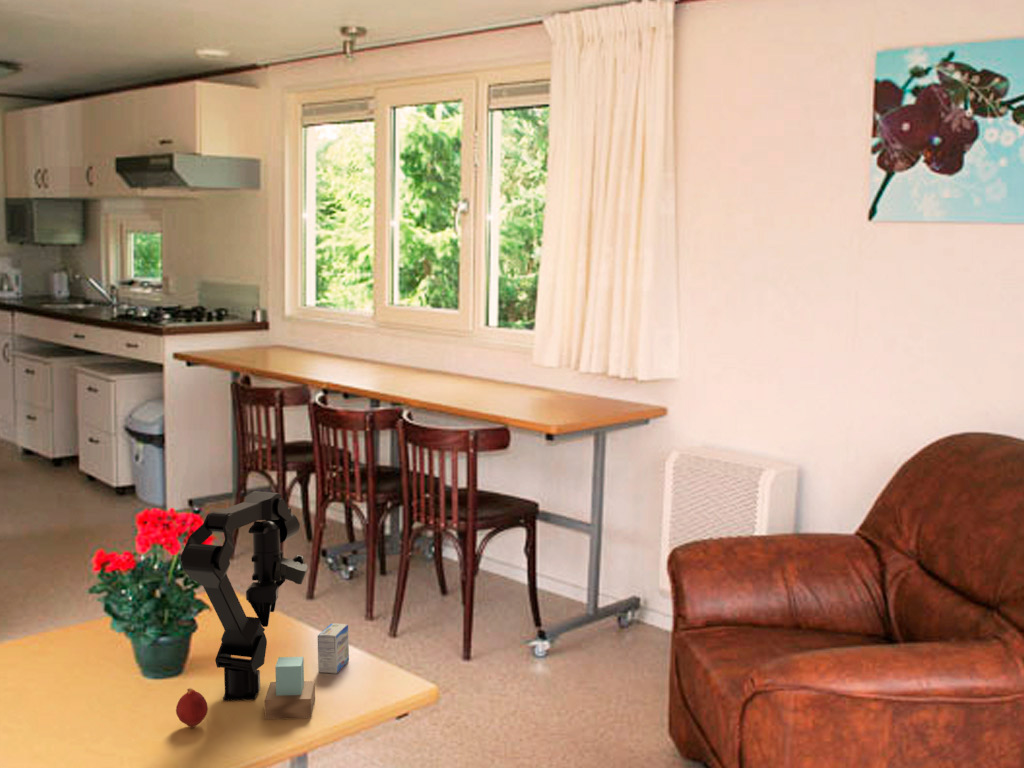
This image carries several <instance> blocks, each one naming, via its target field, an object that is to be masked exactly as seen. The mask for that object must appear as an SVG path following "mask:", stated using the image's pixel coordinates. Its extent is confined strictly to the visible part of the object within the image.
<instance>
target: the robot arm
mask: <svg viewBox="0 0 1024 768" xmlns="http://www.w3.org/2000/svg"><path fill="white" fill-rule="evenodd" d="M252 523H253V524H252ZM249 524H252V525H251V526H250V527H249V528H248V534H252V548H253V549H252V556H251V562H252V563H253V574H252V576H251V581H252V582H251V584H249V586H248V587H247V589H246V590H245V599H246V601H247V602H248V603H249V605H250V606H251V608H252V609H253V611H254V613H255V615H256V616H255V617H254V616H247V615H246V612H245V611H244V608H243V606H242V604H241V602H240V600H239V598H238V596H237V593H236V591H235V590H234V587H233V585H232V583H231V580H230V579H229V577H228V570H229V568H230V566H231V562H230V560H231V557H232V555H233V553H234V550H235V546H234V541H233V533H234V531H235V530H237V529H239V528H242V527H244V526H247V525H249ZM300 525H301V524H300V521H299V519H298V518H297V516H296V514H293V513H292V508H291V507H288V505H287V503H286V500H285V499H284V498H283V497H282V494H281V493H279V492H267V491H252V492H250V493H249V494H247V495H246V496H244V501H243V502H240V503H237V504H235V505H231V506H229V507H226V508H224V509H220V510H218V511H212V512H209V513H207V515H206V517H205V519H204V521H203V523H202V525H200V526H199V527H198V528H197V529H196V530H195V531H193V532H192V533H191V534H190V535H189V537H188V539H187V541H186V543H185V545H184V548H183V550H182V551H181V555H180V563H181V567H182V569H183V571H184V572H185V573H186V575H187V576H188V577H189V579H191V580H192V581H194V582H196V583H198V584H199V585H201V586H202V587H203V589H204V591H205V594H206V595H207V597H208V599H209V601H210V603H211V605H212V607H213V610H215V611H214V612H215V613H216V615H217V617H218V620H219V621H220V623H221V626H222V627H223V630H224V631H223V634H222V636H221V639H220V640H221V641H220V642H221V644H220V645H219V649H218V651H217V654H216V656H215V660H214V661H215V666H216V668H217V669H218V668H223V670H224V671H223V673H224V674H223V677H224V679H223V680H224V694H223V696H222V700H223V701H247V700H248V701H249V700H250V701H253V700H255V699H256V698H257V695H258V694H259V692H260V691H261V690H260V689H261V670H260V669H259V668H261V667H262V666H263V665H264V664H265V660H266V659H265V658H266V653H267V652H266V651H267V645H268V644H267V643H268V641H267V637H266V634H265V630H266V629H265V627H266V628H267V627H268V626H269V621H270V616H271V613H274V612H275V610H276V605H277V600H278V598H279V590H280V587H281V586H282V585H283V584H284V583H285V582H286V580H287V581H289V582H293V583H294V584H297V585H303V583H304V582H303V581H304V580H305V577H306V574H307V571H308V568H309V566H308V563H305V558H304V556H303V555H300V554H296V555H295V556H294V557H293V558H290V557H289V558H286V557H284V552H283V550H281V544H282V543H285V541H287V540H289V539H290V538H293V537H295V536H296V535H297V534H298V533H299V530H300V527H301V526H300ZM213 533H221V534H223V535H224V536H223V537H224V541H223V543H222V545H217V544H206V543H205V544H204V542H205V541H207V540H208V538H210V537H211V536H212V535H213ZM232 656H233V657H232ZM234 656H237V657H234ZM241 657H243V658H241Z"/></svg>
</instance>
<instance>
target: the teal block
mask: <svg viewBox="0 0 1024 768" xmlns="http://www.w3.org/2000/svg"><path fill="white" fill-rule="evenodd" d="M304 661H305V660H304V656H282V657H281V656H279V657H278V658H277V661H276V664H275V667H274V669H275V682H276V696H281V695H302V691H303V687H304V681H305V669H304V668H305V667H304V666H305V665H304V664H305V662H304Z"/></svg>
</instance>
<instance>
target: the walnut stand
mask: <svg viewBox="0 0 1024 768" xmlns="http://www.w3.org/2000/svg"><path fill="white" fill-rule="evenodd" d="M315 702H316V681H315V680H304V687H303V691H302V695H281V696H276V681H270V682H269V685H268V688H267V691H266V695H265V697H264V719H265V720H287V719H289V720H291V719H293V720H294V719H297V720H298V719H312V715H313V710H314V707H315Z"/></svg>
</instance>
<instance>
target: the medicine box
mask: <svg viewBox="0 0 1024 768" xmlns="http://www.w3.org/2000/svg"><path fill="white" fill-rule="evenodd" d="M349 641H350V639H349V625H348V624H345V623H330V624H329V625H327V627H326V628H323V630H322V631H321V632H319V634H318V635H317V663H318V664H317V666H318V667H317V668H318V673H322V674H323V673H324V674H334V675H335V674H337V675H338V673H339V672H340V671H341V670H342V669H343V668H344V666H345V665H346V664H347V663H348V662H349V660H350V649H349V648H350V646H349V644H350V643H349ZM341 668H342V669H341Z"/></svg>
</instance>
